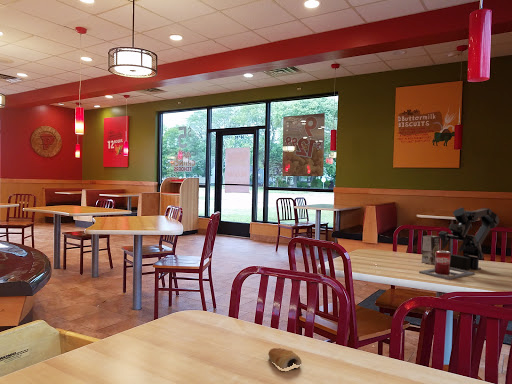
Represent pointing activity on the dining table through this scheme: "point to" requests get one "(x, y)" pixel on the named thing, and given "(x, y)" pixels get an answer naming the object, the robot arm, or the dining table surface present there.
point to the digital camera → (460, 262)
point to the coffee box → (430, 248)
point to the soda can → (442, 263)
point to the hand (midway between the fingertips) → (450, 249)
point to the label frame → (454, 273)
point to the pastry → (283, 357)
